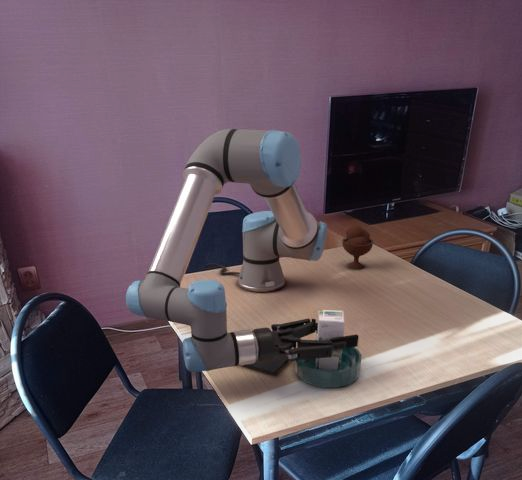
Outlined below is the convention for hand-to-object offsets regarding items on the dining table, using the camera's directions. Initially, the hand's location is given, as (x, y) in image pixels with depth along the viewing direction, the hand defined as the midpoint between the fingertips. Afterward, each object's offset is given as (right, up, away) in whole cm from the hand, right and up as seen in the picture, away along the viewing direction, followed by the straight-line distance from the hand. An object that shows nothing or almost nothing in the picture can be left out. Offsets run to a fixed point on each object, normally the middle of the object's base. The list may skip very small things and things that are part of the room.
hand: (349, 332), depth 116 cm
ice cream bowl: (+13, +26, +64) cm, 71 cm away
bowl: (-5, -9, +4) cm, 11 cm away
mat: (-20, -6, +9) cm, 22 cm away
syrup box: (-5, -9, +4) cm, 11 cm away
